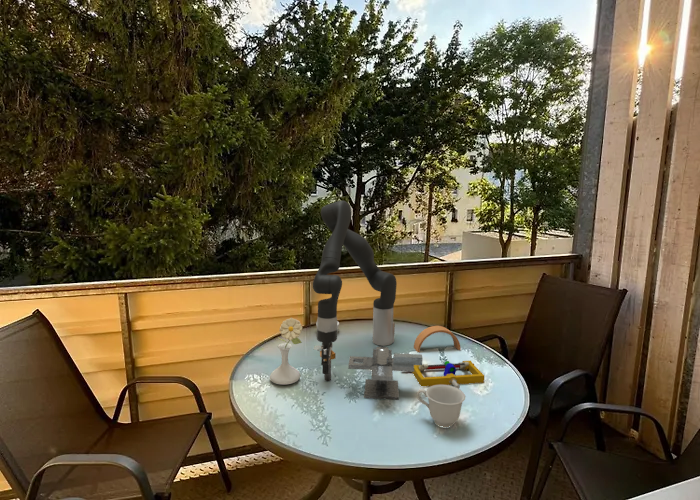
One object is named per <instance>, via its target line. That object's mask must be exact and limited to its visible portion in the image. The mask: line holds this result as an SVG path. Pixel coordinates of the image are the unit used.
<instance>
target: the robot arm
mask: <svg viewBox="0 0 700 500" xmlns="http://www.w3.org/2000/svg"><path fill="white" fill-rule="evenodd" d="M320 215H321V216H320V217H321V219H322V221H323V223H324V225H325V226H326V227H327V228H328V229H329V230H330V231H331V232H332V233H331V235H330V236H329V238H328V239H327V241H326V242H325V243H324V247H323V250H322V256H321V261H320V264H319V265H320V266H319V267H318V270H317V272H316V274H315V275H314V279H313V281H312V289H313V292H314V293H316V294H319V295H331V297H328V298H322V299H320V300H318V302H317V318H316V322H317V326H316V339H317V341H318V342H320V343H321V345H320V346H321V349H320V350H321V351H322V352H321V357H322V358H321V357H320V358H321V362H320V365H321V367H322V368H321V369H322V374H323V375H324V374H328V373H329V359H330V358H331V351H333V345H334V344H333V343H335V342H336V341H337V340H338V331H337V321H338V312H337V311H338V302H339V296H340V293H341V290H342V286H343V280H342V278H341V276H339V275H335V274H331V273H336V272H338V271H339V269H340V264H341V257H342V251H343V247H344V248H345V249H346V251H347V252H348V253H349V255H350V257H351V258H352V259H353V261H354V262H355V263H356V265H358V266H357V267H359V268H360V270H361V271H362V273H363V275H364V276H365V278H366V279H367V282H368V283H369V285H370V286H371V288H372V289H373V290H375V291H377V292H380V296H379V297H377V298H375V299H374V300H373V303H372V305H373V307H372V308H373V309H372V311H373V313H372V316H373V317H372V343H373V344H374V345H377V346H385V347H387V346H390V345H392V344H393V343H395V334H396V333H395V331H396V330H395V329H396V327H395V326H396V323H395V322H394V304H395V301H396V299H397V298H396V297H397V282H398V281H397V278H396V275H395V274H393V273H390V272H385V271H383V270H381V269H380V267H378V265H377V263H376V262H375V260H374V259H375V258H374V257H375V255H374V254H375V253H374V250H373V248H372V246H371V245H370V243H369V242H368V241H367V239H366V238H365V237H363V235H360V234H359V233H357V232H355V231H353V230H351V229H349V226H350V223H351V219H352V209H351V206H350V205H349V203H348V202H347V201H346V200H338V201H335V202H331V203H327V204H325V205H324V206H322V207H321V210H320ZM324 359H327V361H324Z"/></svg>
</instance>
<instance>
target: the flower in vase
mask: <svg viewBox="0 0 700 500" xmlns="http://www.w3.org/2000/svg"><path fill="white" fill-rule="evenodd" d="M302 331H303V326H302V323H301V321H300V320H298V319H297V318H293V317H290V318H286V319H285V320H282V323H281V324H280V327H279V333H280V335H281V337H282V338H283V339H282V338H280V337H278V339H279V340H280V341H282V342H285V343H280V344H278V346H277V348H278V349H279V350H280V354H281V364H280V365H279V366H278V367H276V368H275V369H274V370H273V371H272V372H271V373H270V375H269V380H270V381H271V382H272V383H274V384H276V385H291V384H294V383H296V382H298V381H299V380H300V378H301V372H300V371H299V370H298V369H296V368H295V367H294V366H292V365H290V364H289V352H290V349H291V348H292V344H293V345H298V344H302V343H303V342H302V341H301V340H300V339H299V337H300V335H301V333H302ZM287 340H288V342H287ZM290 341H291V342H292V344H291V343H290Z"/></svg>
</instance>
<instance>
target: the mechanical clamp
mask: <svg viewBox="0 0 700 500" xmlns="http://www.w3.org/2000/svg"><path fill="white" fill-rule="evenodd" d="M457 369H459V370H464V371H468V372H469V373H470V374H457ZM428 370H429V371H431V370H432V371H433V370H444V371H443V374H442V376H426V377H425V376H424V375H423V373H424V372H425V371H428ZM411 373H412V375H413V374H414V375H413V376H415V377H414V378H415V379H417V380H416V381H417V383H418V382H419V383H418V385H419V386H420V385H421V386H426V387H431V386H433V385H450V386H453V387H456V388H458V389H460V388H461V387H460V385H468V384H469V383H473V384H484V383H485V374H484V373H483V372H481V370H480V369H479V368H478V367H477V366H476V365H475V363H473V362H472V360H462V362H460V361H459V362H458V363H452V362H450V361H448V360H446V361H444V363H443V364H428V363H422V365H414V372H411ZM471 373H472V374H471ZM469 385H470V384H469ZM421 386H420V387H421Z"/></svg>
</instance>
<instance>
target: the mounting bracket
mask: <svg viewBox="0 0 700 500" xmlns="http://www.w3.org/2000/svg"><path fill="white" fill-rule="evenodd" d="M321 346H322V345H314V346H313V350H316V351H317V352H320V351H321Z"/></svg>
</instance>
